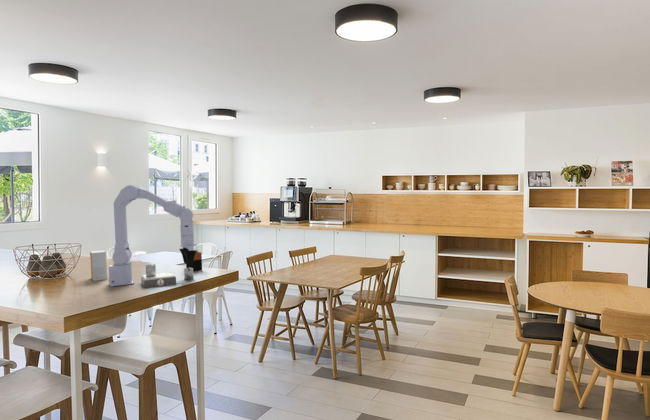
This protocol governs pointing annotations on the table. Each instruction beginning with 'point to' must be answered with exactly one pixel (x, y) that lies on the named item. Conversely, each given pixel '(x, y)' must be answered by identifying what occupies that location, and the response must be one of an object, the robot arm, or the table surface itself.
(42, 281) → the table surface
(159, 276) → the kitchen scale
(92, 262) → the small box
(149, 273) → the block
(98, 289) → the table surface
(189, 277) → the steel spacer
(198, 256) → the battery
